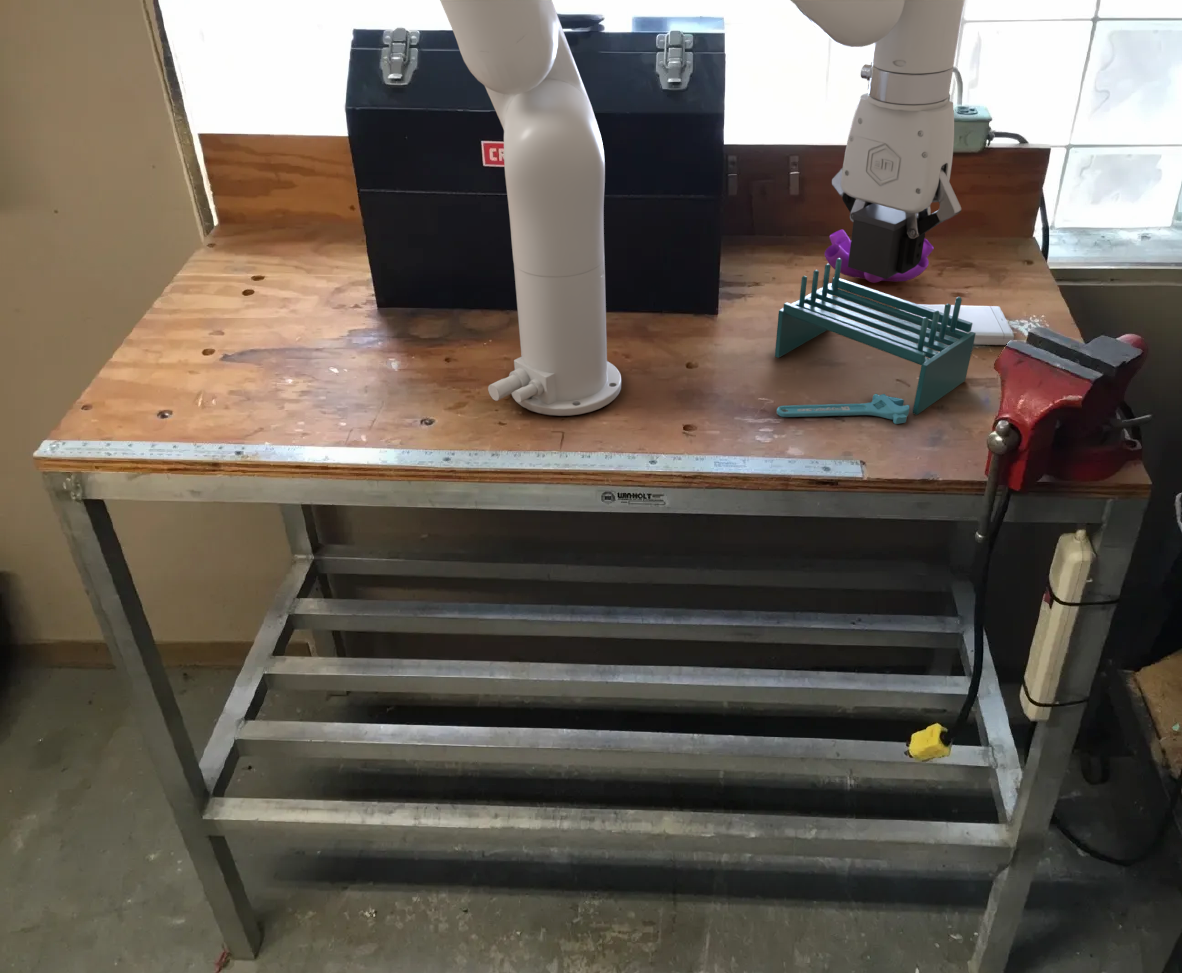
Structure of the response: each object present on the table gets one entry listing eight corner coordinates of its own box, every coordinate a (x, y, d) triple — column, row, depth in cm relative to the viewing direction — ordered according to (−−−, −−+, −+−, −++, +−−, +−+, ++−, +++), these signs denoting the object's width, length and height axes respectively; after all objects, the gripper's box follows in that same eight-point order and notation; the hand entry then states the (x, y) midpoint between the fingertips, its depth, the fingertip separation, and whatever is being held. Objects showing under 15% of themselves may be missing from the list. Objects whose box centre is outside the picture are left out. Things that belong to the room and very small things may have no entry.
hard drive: (906, 332, 117) (1015, 334, 116) (896, 302, 124) (999, 303, 122) (904, 345, 118) (1012, 347, 117) (894, 314, 124) (996, 315, 123)
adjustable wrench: (903, 391, 107) (915, 415, 103) (901, 399, 108) (913, 423, 104) (774, 394, 107) (781, 419, 103) (773, 402, 108) (780, 426, 104)
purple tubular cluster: (925, 299, 135) (958, 263, 126) (823, 313, 132) (849, 277, 123) (901, 227, 138) (932, 187, 129) (801, 240, 135) (825, 200, 126)
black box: (886, 279, 103) (894, 224, 99) (846, 266, 106) (852, 212, 102) (921, 260, 106) (930, 206, 103) (880, 248, 109) (888, 195, 106)
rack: (917, 415, 105) (933, 328, 99) (774, 356, 117) (781, 275, 110) (965, 380, 111) (983, 297, 105) (824, 327, 122) (834, 249, 116)
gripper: (813, 79, 98) (798, 252, 109) (970, 108, 88) (936, 296, 99) (857, 64, 102) (838, 232, 113) (1011, 90, 92) (974, 273, 103)
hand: (884, 260), depth 106 cm, fingers closed on black box, 4 cm apart
